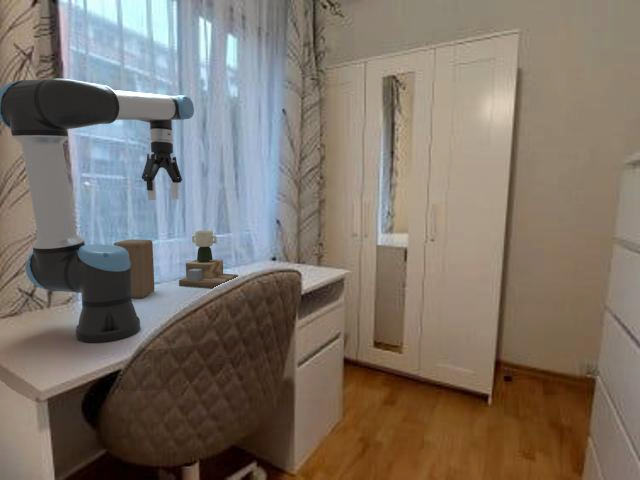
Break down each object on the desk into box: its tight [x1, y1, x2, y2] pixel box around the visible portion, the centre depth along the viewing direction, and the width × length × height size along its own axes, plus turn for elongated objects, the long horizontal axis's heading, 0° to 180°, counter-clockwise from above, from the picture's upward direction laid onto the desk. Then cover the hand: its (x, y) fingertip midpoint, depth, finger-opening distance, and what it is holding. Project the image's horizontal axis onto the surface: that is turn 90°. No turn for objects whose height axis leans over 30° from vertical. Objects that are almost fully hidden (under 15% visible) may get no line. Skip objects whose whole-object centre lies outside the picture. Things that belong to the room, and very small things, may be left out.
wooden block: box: [113, 238, 155, 299], centre depth 140 cm, size 10×10×20 cm
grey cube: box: [188, 269, 203, 281], centre depth 155 cm, size 4×4×4 cm
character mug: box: [191, 229, 218, 262], centre depth 162 cm, size 11×7×13 cm, turn 81°
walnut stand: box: [178, 259, 239, 290], centre depth 160 cm, size 16×18×8 cm
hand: (164, 199), depth 145 cm, fingers open, 13 cm apart
